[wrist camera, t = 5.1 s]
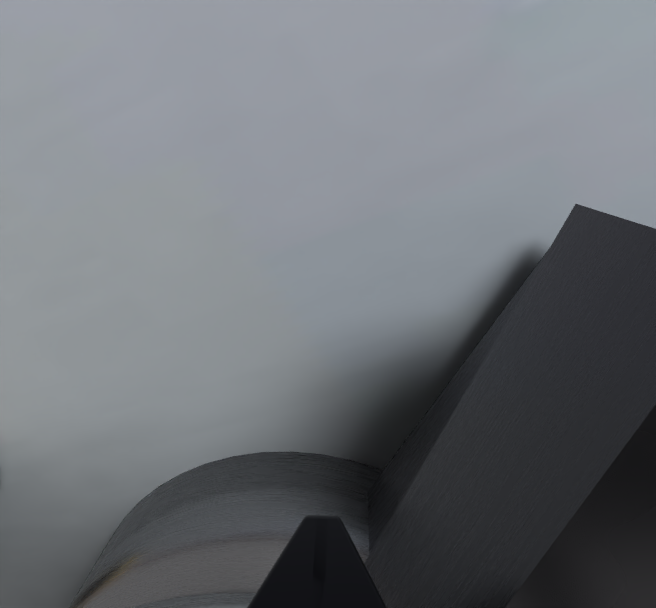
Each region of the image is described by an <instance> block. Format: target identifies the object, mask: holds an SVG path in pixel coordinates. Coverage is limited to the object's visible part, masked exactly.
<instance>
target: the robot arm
mask: <svg viewBox="0 0 656 608" xmlns="http://www.w3.org/2000/svg"><path fill="white" fill-rule="evenodd" d="M247 608H387V607H386V605H385V603H384V601H383V599H382V597H381V595H380V594H379V592H378V590H377V588H376V586H375V584H374V582H373V580H372V578H371V576H370V574H369V572H368V570H367V568H366V566H365V564H364V562H363V560H362V559H361V557H360V555H359V553H358V551H357V549H356V547H355V545H354V543H353V541H352V539H351V537H350V535H349V533H348V531H347V529H346V527H345V525H344V523H343V522H342V520H341V518H340V517H338V516H332V515H307V516H305V517H304V518H303V520H302V521H301V523H300V524H299V526H298V527H297V529H296V531H295V532H294V534H293V535H292V537H291V539H290V540H289V542H288V543H287V545H286V547H285V548H284V550H283V551H282V553H281V554H280V556H279V558H278V559H277V561H276V562H275V564H274V566H273V567H272V569H271V570H270V572H269V574H268V575H267V577H266V578H265V580H264V581H263V583H262V585H261V586H260V588H259V589H258V591H257V593H256V594H255V596H254V597H253V599H252V600H251V602H250V604H249V605H248V607H247Z"/></svg>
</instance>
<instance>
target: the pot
mask: <svg viewBox="0 0 656 608" xmlns="http://www.w3.org/2000/svg"><path fill="white" fill-rule="evenodd" d="M549 249H550V248H549ZM547 252H548V251H547ZM547 252H546V254H547ZM546 254H545V255H546ZM545 255H544V256H543V258H542V259H541V260H540V262H539V263H538V264H537V266H536V267H535V268H534V270H533V271H532V272H531V274H530V275H529V276H528V278H527V279H526V280H525V282H524V283H523V285H522V286H521V287H520V289H519V290H518V291H517V293H516V294H515V295H514V297H513V298H512V299H511V301H510V302H509V303H508V305H507V306H506V307H505V309H504V310H503V311H502V313H501V314H500V315H499V317H498V318H497V319H496V321H495V322H494V323H493V325H492V326H491V327H490V329H489V330H488V331H487V333H486V334H485V335H484V337H483V338H482V339H481V341H480V342H479V343H478V345H477V346H476V347H475V349H474V350H473V351H472V353H471V354H470V355H469V357H468V358H467V359H466V361H465V362H464V363H463V365H462V366H461V367H460V369H459V370H458V371H457V373H456V374H455V375H454V377H453V378H452V379H451V381H450V382H449V383H448V385H447V386H446V387H445V389H444V390H443V391H442V393H441V394H440V395H439V397H438V398H437V399H436V401H435V402H434V403H433V405H432V406H431V407H430V409H429V410H428V411H427V413H426V414H425V415H424V417H423V418H422V419H421V421H420V422H419V423H418V425H417V426H416V427H415V429H414V430H413V431H412V433H411V434H410V436H409V437H408V438H407V440H406V441H405V442H404V444H403V445H402V446H401V448H400V449H399V450H398V452H397V453H396V454H395V456H394V457H393V458H392V460H391V461H390V462H389V464H388V465H387V466H386V468H385V469H384V470H383V471H381V470H379V469H376V468H372V467H369V466H366V465H363V464H360V463H357V462H354V461H351V460H346V459H341V458H336V457H331V456H326V455H321V454H310V453H299V452H262V453H254V454H247V455H240V456H233V457H229V458H225V459H222V460H218V461H214V462H210V463H207V464H204V465H201V466H199V467H197V468H194V469H192V470H189V471H187V472H184V473H182V474H180V475H178V476H176V477H175V478H173V479H171V480H169V481H168V482H166V483H164V484H162V485H161V486H159V487H158V488H156V489H155V490H154V491H153V492H151V493H150V494H149V495H147V496H146V497H145V498H144V499H142V500H141V501H140V502H139V503H138V504H137V505H136V506H135V507H134V508H133V509H132V510H131V512H130V513H129V514H128V515H127V516H126V517H125V518H124V520H123V521H122V523H121V524H120V526H119V527H118V529H117V530H116V532H115V533H114V535H113V536H112V538H111V539H110V541H109V543H108V544H107V546H106V548H105V549H104V551H103V553H102V554H101V556H100V558H99V559H98V561H97V562H96V564H95V566H94V567H93V569H92V571H91V572H90V574H89V576H88V577H87V579H86V581H85V582H84V584H83V586H82V587H81V589H80V590H79V592H78V594H77V595H76V597H75V599H74V600H73V602H72V604H71V605H70V607H69V608H131V607H134V606H138V605H143V604H147V603H152V602H156V601H161V600H166V599H170V598H175V597H184V596H194V595H204V594H213V593H257V591H258V589H259V588H260V586H261V585H262V583H263V581H264V580H265V578H266V577H267V575H268V574H269V572H270V570H271V569H272V567H273V566H274V564H275V562H276V561H277V559H278V558H279V556H280V554H281V553H282V551H283V550H284V548H285V547H286V545H287V543H288V542H289V540H290V539H291V537H292V535H293V534H294V532H295V531H296V529H297V527H298V526H299V524H300V523H301V521H302V520H303V518H304V517H305V516H307V515H332V516H338V517H340V518H341V520H342V522H343V523H344V525H345V527H346V529H347V531H348V533H349V535H350V537H351V539H352V541H353V543H354V545H355V547H356V549H357V551H358V553H359V555H360V557H361V559H362V560H363V562H364V563H365V562H366V560H367V558H368V557H369V555H370V553H371V551H372V550H373V548H374V546H375V545H376V543H377V541H378V540H379V538H380V536H381V534H382V533H383V531H384V529H385V528H386V526H387V524H388V523H389V521H390V519H391V517H392V516H393V514H394V512H395V511H396V509H397V507H398V505H399V504H400V502H401V500H402V499H403V497H404V495H405V494H406V492H407V490H408V488H409V487H410V485H411V483H412V482H413V480H414V478H415V477H416V475H417V473H418V471H419V470H420V468H421V466H422V465H423V463H424V461H425V460H426V458H427V456H428V454H429V453H430V451H431V449H432V448H433V446H434V444H435V443H436V441H437V439H438V437H439V436H440V434H441V432H442V431H443V429H444V427H445V426H446V424H447V422H448V420H449V419H450V417H451V415H452V414H453V412H454V410H455V409H456V407H457V405H458V403H459V402H460V400H461V398H462V397H463V395H464V393H465V392H466V390H467V388H468V386H469V385H470V383H471V381H472V380H473V378H474V376H475V375H476V373H477V371H478V369H479V368H480V366H481V364H482V363H483V361H484V359H485V358H486V356H487V354H488V352H489V351H490V349H491V347H492V346H493V344H494V342H495V341H496V339H497V337H498V335H499V334H500V332H501V330H502V329H503V327H504V325H505V323H506V322H507V320H508V318H509V317H510V315H511V313H512V312H513V310H514V308H515V306H516V305H517V303H518V301H519V300H520V298H521V296H522V295H523V293H524V291H525V289H526V288H527V286H528V284H529V283H530V281H531V279H532V278H533V276H534V274H535V272H536V271H537V269H538V267H539V266H540V264H541V262H542V261H543V259H544V257H545Z"/></svg>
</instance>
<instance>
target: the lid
mask: <svg viewBox="0 0 656 608" xmlns="http://www.w3.org/2000/svg"><path fill="white" fill-rule="evenodd" d="M364 564H365V566H366V568H367V570H368V572H369V574H370V576H371V578H372V580H373V582H374V584H375V586H376V588H377V590H378V592H379V594H380V595H381V597H382V599H383V601H384V603H385V605H386V607H387V608H656V229H654V228H651V227H648V226H645V225H641V224H638V223H635V222H632V221H629V220H626V219H622V218H619V217H616V216H613V215H610V214H606V213H603V212H600V211H597V210H594V209H591V208H587V207H584V206H581V205H578V204H575V206H574V208H573V210H572V211H571V213H570V215H569V216H568V218H567V220H566V221H565V223H564V225H563V227H562V228H561V230H560V232H559V233H558V235H557V237H556V238H555V240H554V242H553V244H552V245H551V247H550V249H549V250H548V252H547V254H546V255H545V257H544V259H543V261H542V262H541V264H540V266H539V267H538V269H537V271H536V272H535V274H534V276H533V278H532V279H531V281H530V283H529V284H528V286H527V288H526V289H525V291H524V293H523V295H522V296H521V298H520V300H519V301H518V303H517V305H516V306H515V308H514V310H513V312H512V313H511V315H510V317H509V318H508V320H507V322H506V323H505V325H504V327H503V329H502V330H501V332H500V334H499V335H498V337H497V339H496V341H495V342H494V344H493V346H492V347H491V349H490V351H489V352H488V354H487V356H486V358H485V359H484V361H483V363H482V364H481V366H480V368H479V369H478V371H477V373H476V375H475V376H474V378H473V380H472V381H471V383H470V385H469V386H468V388H467V390H466V392H465V393H464V395H463V397H462V398H461V400H460V402H459V403H458V405H457V407H456V409H455V410H454V412H453V414H452V415H451V417H450V419H449V420H448V422H447V424H446V426H445V427H444V429H443V431H442V432H441V434H440V436H439V437H438V439H437V441H436V443H435V444H434V446H433V448H432V449H431V451H430V453H429V454H428V456H427V458H426V460H425V461H424V463H423V465H422V466H421V468H420V470H419V471H418V473H417V475H416V477H415V478H414V480H413V482H412V483H411V485H410V487H409V488H408V490H407V492H406V494H405V495H404V497H403V499H402V500H401V502H400V504H399V505H398V507H397V509H396V511H395V512H394V514H393V516H392V517H391V519H390V521H389V523H388V524H387V526H386V528H385V529H384V531H383V533H382V534H381V536H380V538H379V540H378V541H377V543H376V545H375V546H374V548H373V550H372V551H371V553H370V555H369V557H368V558H367V560H366V562H365V563H364ZM255 594H256V593H213V594H204V595H194V596H184V597H175V598H170V599H166V600H161V601H156V602H152V603H147V604H143V605H138V606H134V607H131V608H247V607H248V605H249V604H250V602H251V600H252V599H253V597H254V596H255Z"/></svg>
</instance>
